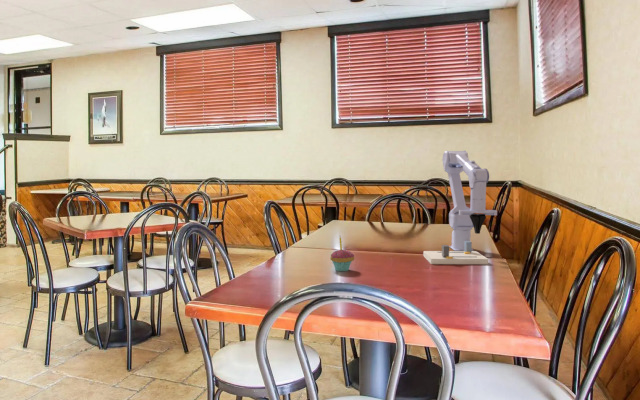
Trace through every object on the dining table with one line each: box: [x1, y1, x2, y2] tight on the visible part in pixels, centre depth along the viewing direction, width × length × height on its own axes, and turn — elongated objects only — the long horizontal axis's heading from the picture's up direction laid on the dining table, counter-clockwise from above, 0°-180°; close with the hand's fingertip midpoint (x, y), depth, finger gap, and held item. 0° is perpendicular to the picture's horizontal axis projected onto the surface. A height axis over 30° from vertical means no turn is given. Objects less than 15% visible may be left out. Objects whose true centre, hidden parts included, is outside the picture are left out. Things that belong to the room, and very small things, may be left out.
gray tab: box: [441, 244, 450, 257], centre depth 174 cm, size 3×2×4 cm, turn 178°
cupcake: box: [330, 236, 356, 272], centre depth 162 cm, size 9×8×12 cm
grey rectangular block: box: [464, 240, 473, 252], centre depth 183 cm, size 3×2×4 cm, turn 178°
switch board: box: [422, 250, 489, 265], centre depth 178 cm, size 15×21×3 cm
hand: (477, 233), depth 184 cm, fingers closed
